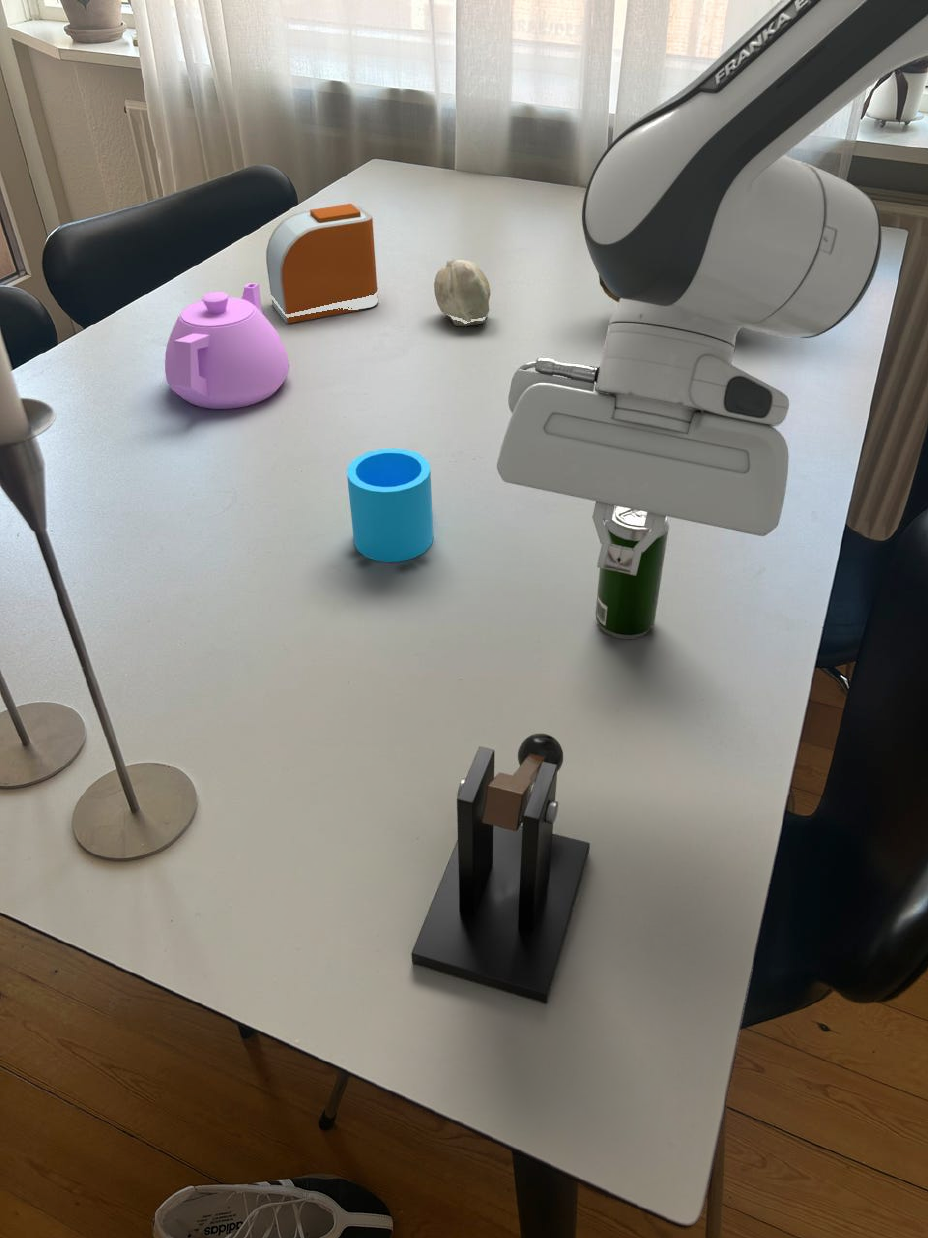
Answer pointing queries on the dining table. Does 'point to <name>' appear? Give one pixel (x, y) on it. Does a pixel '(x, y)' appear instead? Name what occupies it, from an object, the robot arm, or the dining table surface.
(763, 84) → the robot arm
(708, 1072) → the dining table surface
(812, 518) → the dining table surface
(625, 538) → the green drink can
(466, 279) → the garlic bulb
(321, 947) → the dining table surface
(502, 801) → the lever
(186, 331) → the teapot
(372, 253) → the orange and white toaster
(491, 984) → the bracket
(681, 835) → the dining table surface
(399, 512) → the mug
